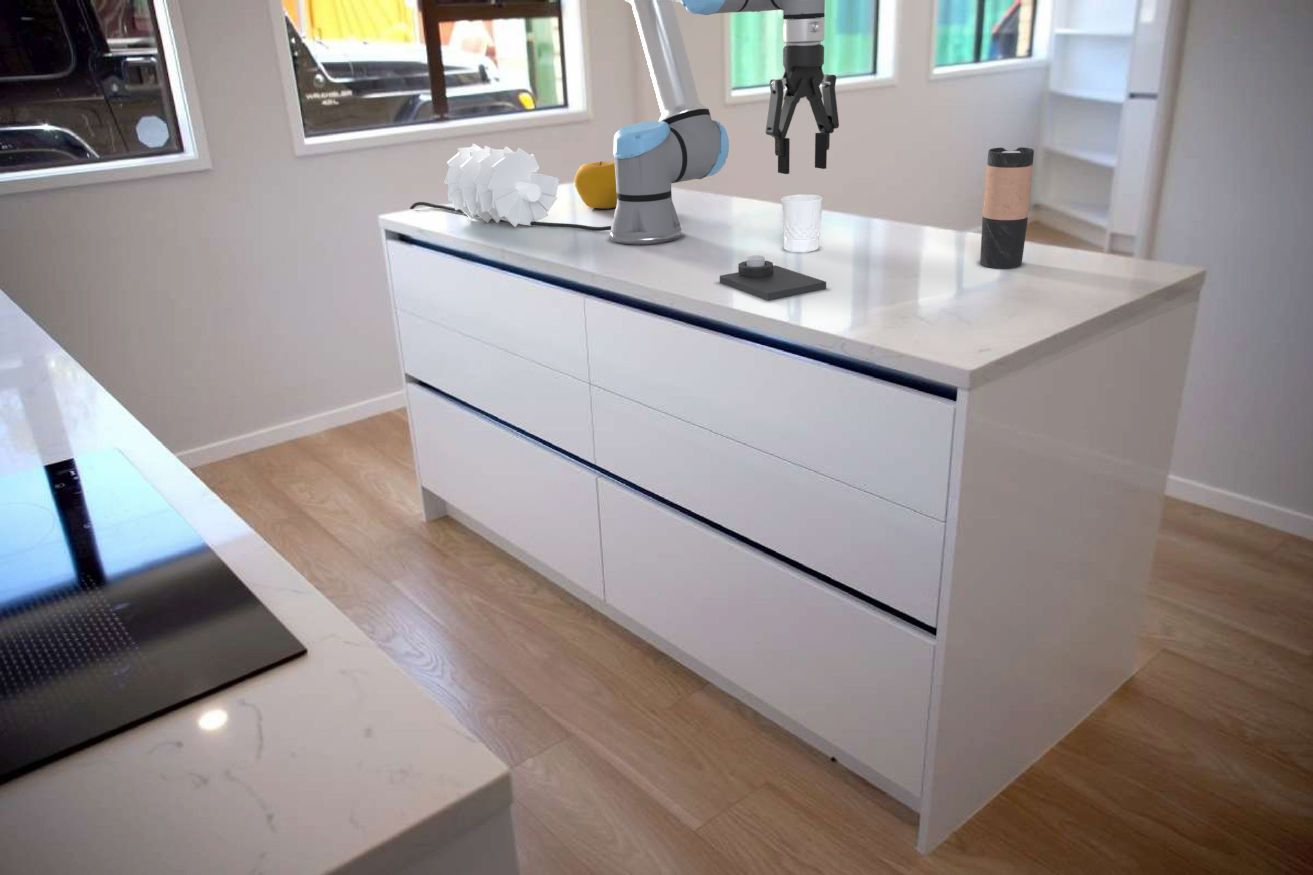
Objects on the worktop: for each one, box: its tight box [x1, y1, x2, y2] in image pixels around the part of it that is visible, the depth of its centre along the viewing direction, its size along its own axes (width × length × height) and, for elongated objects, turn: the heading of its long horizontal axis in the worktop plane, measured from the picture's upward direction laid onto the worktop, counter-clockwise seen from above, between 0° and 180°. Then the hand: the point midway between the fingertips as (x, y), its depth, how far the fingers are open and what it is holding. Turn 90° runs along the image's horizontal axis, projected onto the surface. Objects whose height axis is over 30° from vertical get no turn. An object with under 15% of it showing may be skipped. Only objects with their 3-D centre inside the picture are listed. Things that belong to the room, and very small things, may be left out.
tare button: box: [746, 255, 766, 267], centre depth 176 cm, size 3×3×2 cm
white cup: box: [781, 194, 823, 253], centre depth 196 cm, size 8×8×10 cm
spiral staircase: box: [443, 142, 560, 228], centre depth 235 cm, size 18×18×25 cm
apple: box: [573, 160, 617, 210], centre depth 247 cm, size 13×13×11 cm
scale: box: [719, 260, 827, 302], centre depth 173 cm, size 16×12×3 cm
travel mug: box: [979, 146, 1035, 270], centre depth 176 cm, size 8×8×20 cm
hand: (802, 170), depth 192 cm, fingers open, 8 cm apart
